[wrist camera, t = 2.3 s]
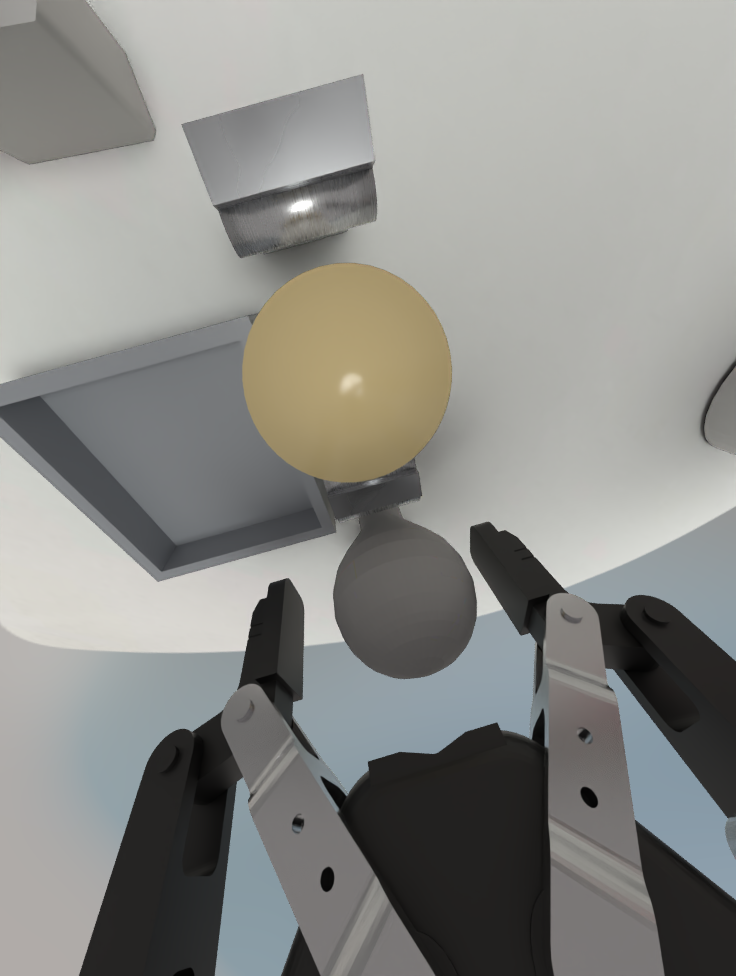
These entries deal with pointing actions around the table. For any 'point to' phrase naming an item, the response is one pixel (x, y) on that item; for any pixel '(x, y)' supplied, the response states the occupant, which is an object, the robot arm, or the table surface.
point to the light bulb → (403, 598)
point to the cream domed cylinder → (346, 372)
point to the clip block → (299, 206)
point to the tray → (165, 452)
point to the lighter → (64, 83)
